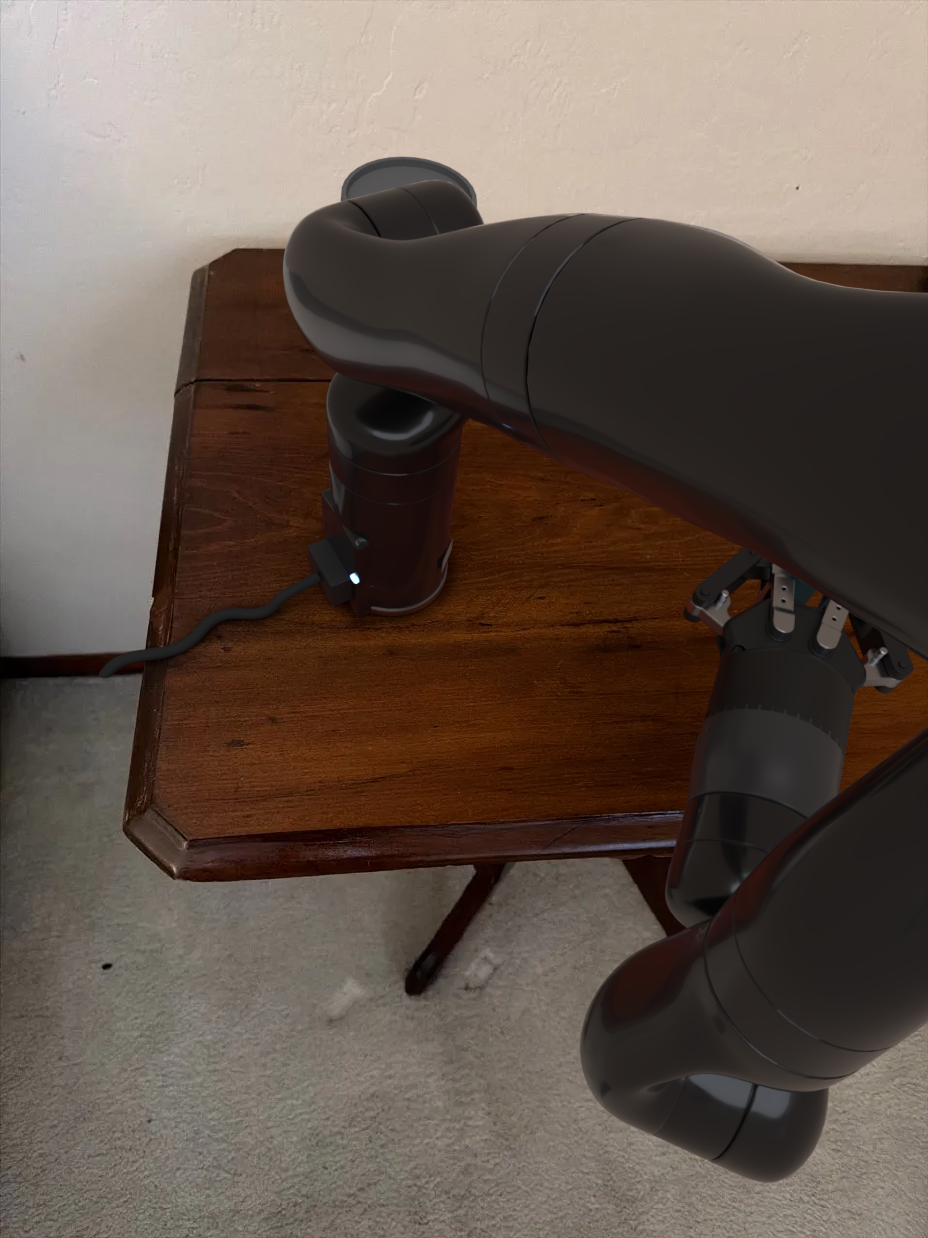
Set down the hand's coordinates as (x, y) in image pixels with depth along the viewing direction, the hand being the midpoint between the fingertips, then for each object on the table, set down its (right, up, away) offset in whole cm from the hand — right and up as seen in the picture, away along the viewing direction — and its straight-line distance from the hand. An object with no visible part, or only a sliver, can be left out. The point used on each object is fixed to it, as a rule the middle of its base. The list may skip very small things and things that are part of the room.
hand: (818, 527), depth 57 cm
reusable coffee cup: (-29, +23, +33) cm, 50 cm away
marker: (-2, -6, +5) cm, 8 cm away
